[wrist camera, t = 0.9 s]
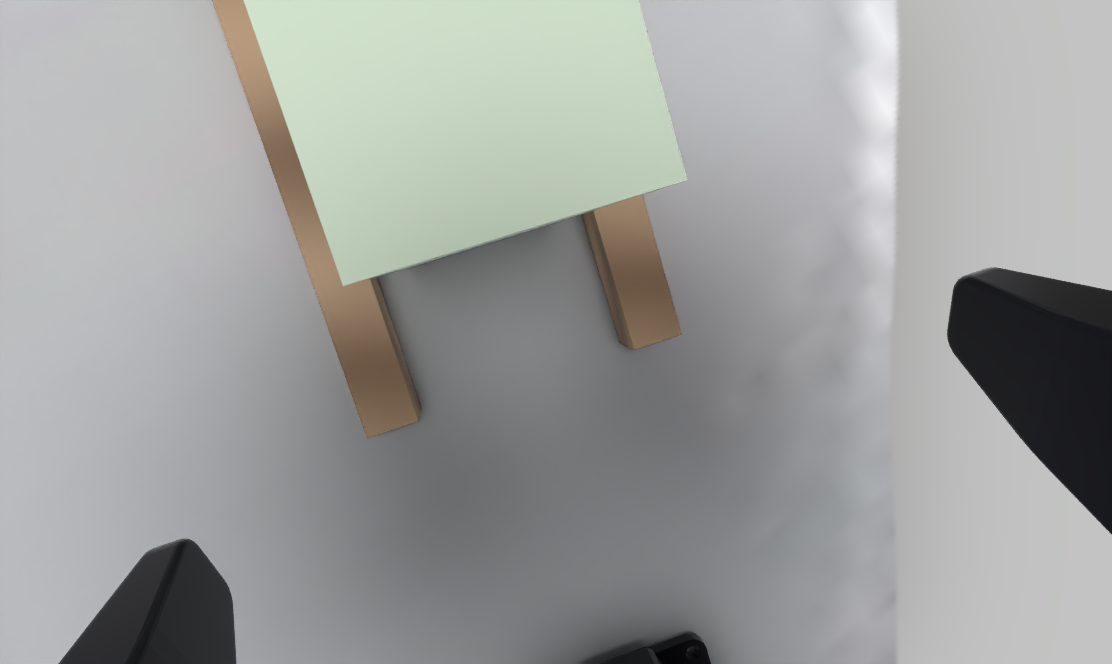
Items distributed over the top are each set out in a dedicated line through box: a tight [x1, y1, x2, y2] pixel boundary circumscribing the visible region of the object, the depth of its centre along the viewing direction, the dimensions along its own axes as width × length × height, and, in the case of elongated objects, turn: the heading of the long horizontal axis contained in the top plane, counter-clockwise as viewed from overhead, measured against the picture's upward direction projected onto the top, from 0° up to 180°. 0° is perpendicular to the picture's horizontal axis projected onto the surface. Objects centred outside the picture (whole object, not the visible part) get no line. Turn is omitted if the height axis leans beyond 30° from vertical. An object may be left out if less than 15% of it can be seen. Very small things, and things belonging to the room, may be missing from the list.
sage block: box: [244, 0, 687, 286], centre depth 17 cm, size 5×5×14 cm
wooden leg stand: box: [212, 0, 682, 438], centre depth 22 cm, size 16×10×2 cm, turn 17°
